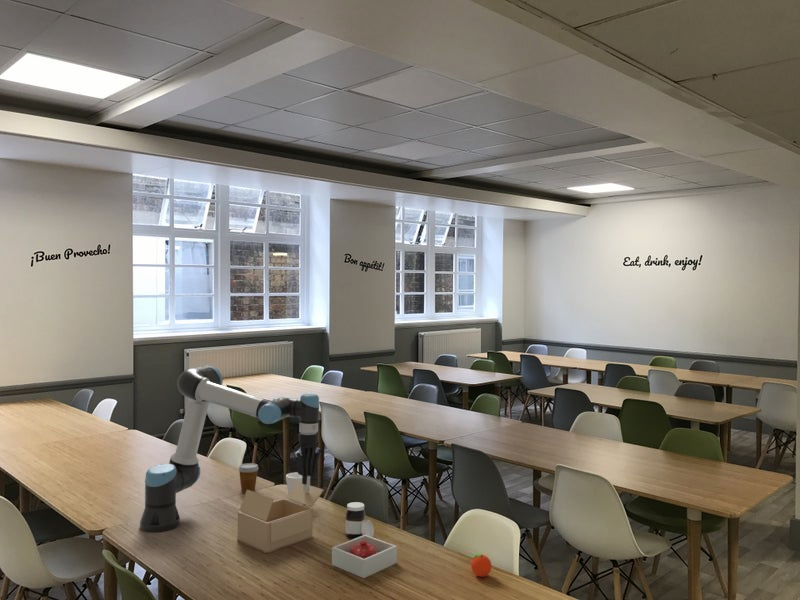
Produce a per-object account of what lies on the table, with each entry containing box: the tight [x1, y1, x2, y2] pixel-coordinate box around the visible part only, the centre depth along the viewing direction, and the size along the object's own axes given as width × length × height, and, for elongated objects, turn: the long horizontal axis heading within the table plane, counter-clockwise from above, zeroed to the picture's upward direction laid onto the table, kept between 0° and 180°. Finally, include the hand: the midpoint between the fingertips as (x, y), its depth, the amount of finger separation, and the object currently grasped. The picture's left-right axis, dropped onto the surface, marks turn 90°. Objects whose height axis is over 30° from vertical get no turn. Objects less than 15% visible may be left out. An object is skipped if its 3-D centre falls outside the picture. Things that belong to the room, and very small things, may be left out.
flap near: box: [238, 490, 275, 521], centre depth 234 cm, size 8×16×1 cm
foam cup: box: [285, 471, 304, 506], centre depth 282 cm, size 10×9×13 cm
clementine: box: [468, 553, 492, 578], centre depth 212 cm, size 8×7×7 cm
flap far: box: [285, 481, 324, 508], centre depth 252 cm, size 8×16×1 cm
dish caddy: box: [331, 535, 398, 579], centre depth 220 cm, size 17×16×6 cm
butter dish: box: [350, 540, 377, 559], centre depth 219 cm, size 12×12×8 cm
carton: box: [236, 498, 314, 554], centre depth 241 cm, size 22×19×11 cm
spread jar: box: [345, 501, 375, 538], centre depth 246 cm, size 12×11×12 cm
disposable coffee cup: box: [238, 462, 259, 493], centre depth 301 cm, size 10×10×12 cm
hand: (306, 491), depth 251 cm, fingers closed
